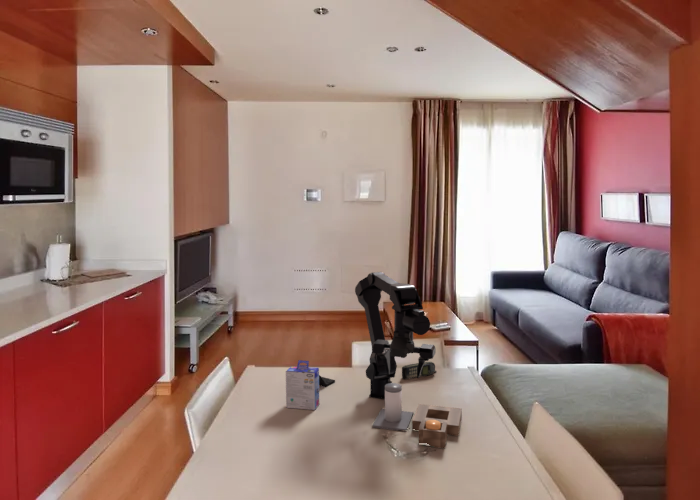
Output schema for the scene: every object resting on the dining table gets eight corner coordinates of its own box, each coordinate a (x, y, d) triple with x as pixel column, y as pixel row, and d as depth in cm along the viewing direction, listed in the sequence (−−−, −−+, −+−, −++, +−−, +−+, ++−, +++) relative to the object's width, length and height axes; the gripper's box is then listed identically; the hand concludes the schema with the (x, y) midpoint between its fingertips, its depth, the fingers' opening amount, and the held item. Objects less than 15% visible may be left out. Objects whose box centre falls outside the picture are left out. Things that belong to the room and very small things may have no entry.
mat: (372, 427, 146) (372, 425, 146) (381, 410, 157) (381, 408, 157) (406, 431, 143) (406, 429, 143) (413, 414, 155) (413, 412, 154)
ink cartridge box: (320, 403, 163) (319, 360, 162) (315, 410, 158) (315, 365, 156) (291, 401, 165) (290, 358, 164) (285, 408, 160) (284, 364, 158)
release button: (424, 439, 136) (424, 425, 135) (426, 432, 139) (426, 419, 139) (439, 441, 134) (439, 427, 134) (441, 434, 138) (441, 420, 138)
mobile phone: (404, 367, 183) (439, 361, 189) (400, 365, 186) (434, 358, 192) (404, 381, 184) (439, 374, 189) (400, 378, 186) (434, 371, 192)
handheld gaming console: (337, 375, 184) (326, 359, 178) (332, 393, 179) (320, 377, 173) (310, 375, 189) (298, 360, 183) (304, 392, 184) (292, 377, 178)
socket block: (407, 443, 136) (407, 427, 136) (418, 413, 155) (418, 399, 155) (456, 449, 132) (456, 433, 132) (461, 418, 151) (461, 403, 151)
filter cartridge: (383, 421, 148) (383, 388, 147) (386, 414, 153) (386, 382, 152) (399, 423, 147) (400, 390, 146) (402, 416, 152) (403, 384, 151)
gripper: (366, 330, 148) (366, 381, 150) (429, 336, 142) (429, 389, 144) (376, 321, 158) (376, 369, 160) (436, 326, 152) (435, 375, 154)
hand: (403, 375), depth 154 cm, fingers open, 9 cm apart
